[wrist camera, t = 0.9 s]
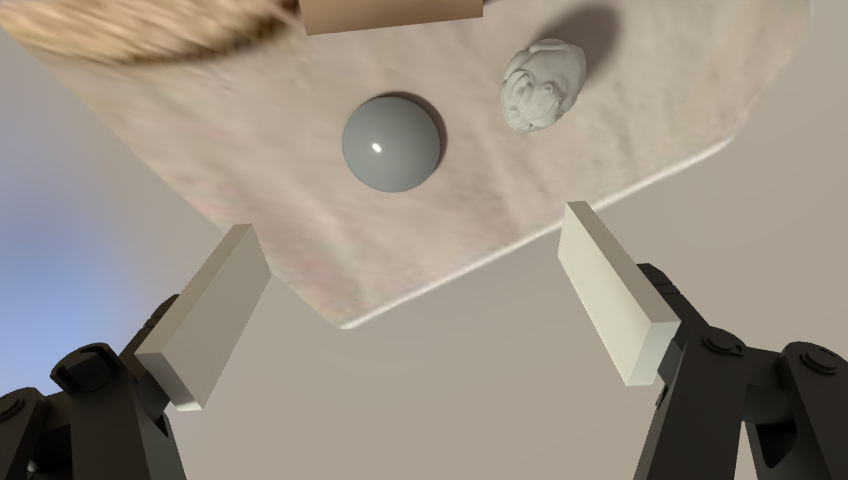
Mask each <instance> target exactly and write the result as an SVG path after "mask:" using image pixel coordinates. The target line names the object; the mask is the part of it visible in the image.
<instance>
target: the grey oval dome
mask: <svg viewBox="0 0 848 480" xmlns="http://www.w3.org/2000/svg"><path fill="white" fill-rule="evenodd" d="M342 150H343V155H344V158H345V161H346V163H347V165H348V167H349V169H350V170H351V172H352V173H353V174H354V175H355V176H356V177H357V178H358V179H359V180H360V181H361V182H363V183H364V184H366V185H367V186H369V187H371V188H373V189H376V190H379V191H384V192H403V191H407V190H410V189H413V188H415V187H417V186H418V185H420V184H421V183H423V182H424V181H425V180H426V179H427V178H428V177H429V176H430V175H431V174H432V172H433V171H434V169H435V167H436V165H437V163H438V159H439V155H440V140H439V134H438V130H437V128H436V125H435V123H434V121H433V120H432V118H431V117H430V115H429V114H428V113H427V112H426V111H425V110H424V109H423V108H422V107H421V106H419V105H418V104H416V103H415V102H413V101H411V100H408V99H406V98H402V97H398V96H382V97H377V98H374V99H371V100H369V101H367V102H365V103H363V104H362V105H361V106H359V107H358V108H357V109H356V110H355V111H354V112H353V114H352V115H351V116H350V118H349V120H348V122H347V124H346V126H345V129H344V132H343V137H342Z"/></svg>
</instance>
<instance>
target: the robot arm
mask: <svg viewBox="0 0 848 480" xmlns="http://www.w3.org/2000/svg"><path fill="white" fill-rule="evenodd" d="M558 258H559V260H560V262H561V263H562V265H563V267H564V269H565V271H566V273H567V275H568V276H569V279H570V280H571V282H572V284H573V286H574V288H575V290H576V292H577V293H578V295H579V297H580V299H581V301H582V303H583V305H584V307H585V309H586V311H587V312H588V314H589V316H590V318H591V320H592V322H593V324H594V326H595V328H596V330H597V332H598V333H599V335H600V337H601V339H602V341H603V343H604V345H605V347H606V348H607V350H608V352H609V354H610V356H611V358H612V360H613V362H614V364H615V366H616V367H617V369H618V371H619V373H620V375H621V377H622V379H623V380H624V383H625V384H626V386H637V385H638V386H639V385H652V384H653V381H654V379H655V377H656V375H657V373H659V375H660V376H661V378H662V379H663V381H664V383H665V386H664V388H663V389H662V392H661V394H660V396H659V398H658V400H657V402H656V404H655V405H656V406H657V408H656V411H655V414H654V417H653V420H652V423H651V426H650V429H649V432H648V435H647V438H646V441H645V444H644V447H643V451H642V454H641V457H640V460H639V463H638V466H637V469H636V472H635V475H634V478H633V480H734V476H735V475H734V474H735V468H736V460H737V453H738V445H739V437H740V430H741V422H742V421H745V426H746V430H747V434H748V439H749V443H750V448H751V452H752V456H753V461H754V465H755V469H756V474H757V478H758V480H848V362H847V361H845V360H844V359H843V358H842V357H840V356H839V355H838V354H836V353H834V352H832V351H830V350H828V349H826V348H824V347H821V346H819V345H815V344H812V343H808V342H800V341H798V342H792V343H789V344H788V345H787V346H786V347H785V348H784V349H783V351H782V352H781V353H779V352H773V351H768V350H762V349H757V348H751V347H747V346H746V345H745V344H744V343H743V342H742V341H741V340H740V339H739V338H737V337H736V336H735V335H733V334H731V333H729V332H727V331H725V330H723V329H719V328H716V327H712V326H709V324H708V323H707V322H706V321H705V320H704V319H703V317H702V316H701V315H700V314H699V313H698V312H697V311H696V309H695V308H694V307H693V306H692V305H691V304H690V303H689V301H688V300H687V299H686V298H685V297H684V296H683V295H682V294H680V291H679V290H678V289H677V288H676V287H675V285H673V284H672V282H671V281H670V280H669V279H668V277H667V276H666V275H665V274H664V273H663V272H662V271H660V270H659V269H657V268H656V267H654V266H652V265H651V264H649V263H644V264H635V263H634V261H633V260H632V259H631V258H630V256H629V255H628V254H627V253H626V251H625V250H624V249H623V248H622V246H621V245H620V244H619V243H618V241H617V240H616V239H615V238H614V236H613V235H612V234H611V233H610V231H609V230H608V229H607V228H606V226H605V225H604V224H603V223H602V221H601V220H600V219H599V218H598V216H597V215H596V214H595V212H594V211H593V210H592V209H591V207H590V206H589V205H588V204H587V202H586V201H577V202H566V208H565V214H564V220H563V226H562V232H561V238H560V244H559V250H558ZM270 277H271V271H270V269H269V266H268V264H267V261H266V259H265V256H264V253H263V251H262V248H261V246H260V243H259V241H258V238H257V236H256V233H255V230H254V228H253V225H252V224H241V225H234V226H233V227H232V228H231V229H230V231H229V232H228V233H227V235H226V236H225V237H224V238H223V240H222V241H221V242H220V244H219V245H218V246H217V248H216V249H215V250H214V252H213V253H212V254H211V255H210V256H209V258H208V259H207V260H206V262H205V263H204V264H203V266H202V267H201V268H200V269H199V271H198V272H197V274H196V275H195V276H194V277H193V278H192V280H191V281H190V282H189V284H188V285H187V286H186V288H185V289H184V290H183V291H182V293H181V294H175V295H173V296H171V297H170V298H169V299H168V300H166V301H165V302H163V303H162V304H161V305H160V306H159V307H158V308H157V309H156V311H155V312H154V313H153V314H152V315H151V319H148V320H147V322H146V323H145V324H144V325H143V328H142V329H140V330H139V331H138V333H137V334H136V335H135V336H134V338H133V339H132V340H131V341H130V342H129V344H128V345H127V346H126V347H125V349H124V350H123V351H122V352H121V353H120V355H119V356H117V355H116V354H115V352H114V351H113V350H112V349H111V348H110V346H109V345H108V344H106V343H101V342H100V343H93V344H89V345H86V346H83V347H81V348H78V349H77V350H75V351H73V352H71V353H69V354H68V355H67V356H65V357H64V358H63V359H62V360H60V361H59V362H58V363H57V364H56V366H55V367H54V368H53V369H52V371H51V374H50V378H51V379H52V380H54V382H55V383H56V384H58V385H59V387H60V388H62V389H63V390H64V391H61V392H58V393H55V394H52V395H48V396H44V395H42V394H41V393H40V392H39V391H38V390H37V389H36V388H31V387H26V388H22V389H18V390H15V391H13V392H10V393H9V394H6V395H4V396H2V397H0V480H187V479H186V476H185V473H184V469H183V466H182V462H181V459H180V456H179V452H178V449H177V446H176V442H175V439H174V436H173V433H172V429H171V425H170V422H169V419H168V417H167V415H166V414H165V413H164V412H163V411H164V409H165V408H166V406H167V404H168V403H169V401H171V402H172V403H173V404H174V406H175V407H176V408H177V410H178V411H190V410H203V408H204V406H205V404H206V402H207V400H208V398H209V396H210V394H211V392H212V391H213V389H214V387H215V385H216V383H217V380H218V379H219V377H220V375H221V373H222V371H223V369H224V367H225V365H226V363H227V361H228V359H229V357H230V355H231V353H232V351H233V349H234V347H235V345H236V343H237V341H238V340H239V337H240V336H241V334H242V332H243V330H244V328H245V326H246V324H247V322H248V320H249V318H250V316H251V314H252V312H253V310H254V308H255V306H256V304H257V302H258V300H259V298H260V296H261V294H262V292H263V290H264V288H265V286H266V285H267V283H268V281H269V279H270Z"/></svg>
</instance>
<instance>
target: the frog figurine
mask: <svg viewBox="0 0 848 480" xmlns="http://www.w3.org/2000/svg"><path fill="white" fill-rule="evenodd" d="M586 68H587V67H586V58H585V54H584V52H583V49H581V48H579V47H578V46H575V45H571V44H566V43H565V42H564V41H562V40H559V39H554V38H547V39H542V40H540V41H537V42H535V43H534V44H532V45H531V46H530V48H528V49H526V50H522V51H519V52H518V53H516V54H515V56H514V57H513V58H512V59H511V61H510V62H509V64H508V65H507V67H506V69H505V72H504V79H505V82H503V83H502V88H501V92H500V97H501V102H502V107H503V111H504V115H505V118H506V120H507V122H508V124H509V125H510V126H511V127H512V128H513V129H514V130H516V131H518V132H533V131H535V130H541V129H544V128H546V127H548V126H551V125H552V124H554V123H556V122H557V121H558V120H560V119H561V117H562V115H563V114H564V113H566V112H567V111H568V110H570V108H571V107H572V106H573V105H574V103H575V101H576V99H577V96H578V94H579V93H580V91H581V89H582V86H583V83H584V80H585V76H586Z"/></svg>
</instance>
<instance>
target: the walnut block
mask: <svg viewBox="0 0 848 480" xmlns="http://www.w3.org/2000/svg"><path fill="white" fill-rule="evenodd" d="M299 4H300V8H301V12H302V16H303V20H304V25H305V29H306V33H307V35H317V34H326V33H336V32H345V31H355V30H364V29H374V28H383V27H393V26H402V25H412V24H421V23H430V22H440V21H449V20H459V19H468V18H478V17H483V0H299Z"/></svg>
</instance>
